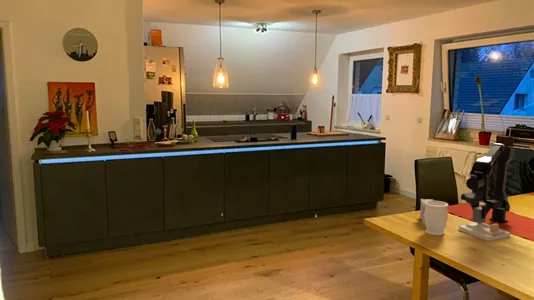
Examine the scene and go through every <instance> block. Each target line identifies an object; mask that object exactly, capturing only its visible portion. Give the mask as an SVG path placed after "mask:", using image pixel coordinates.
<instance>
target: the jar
mask: <svg viewBox="0 0 534 300" xmlns="http://www.w3.org/2000/svg"><path fill="white" fill-rule="evenodd" d="M425 205H426V207H425V210H424V220H425V224H424V226H425V228H426V229H425V233H426V234H428V235H431V236H439V237H440V236H443V235H445V231H444V230H445V229H446V227H447V223H448V217H449V215H448V214H449V213H448V207H449V203H448V202H445V201H440V200H434V201H426V202H425Z"/></svg>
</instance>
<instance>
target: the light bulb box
mask: <svg viewBox="0 0 534 300" xmlns="http://www.w3.org/2000/svg"><path fill="white" fill-rule="evenodd" d="M426 201H435V200H434V199H428V198H427V199H425V198H420V210H419V211H420V212H419V215H420V216H419V218H420V220H421V222H422V224H423V225H425V220H424V210H425V207H426V205H425V202H426Z"/></svg>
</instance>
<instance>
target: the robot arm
mask: <svg viewBox="0 0 534 300" xmlns="http://www.w3.org/2000/svg"><path fill="white" fill-rule="evenodd" d="M514 155H515V149H514V148H513V147H512V146H508V145H506V144H503V143H498V142H497V143H492V145H491V148H489V150H488V151H487V152H486V153H485V154H484V155H483V156H482V157H479V158H477V159H476V160H475V161H474V162H473V164H472V167H471V170H470V172H469V175H470V177H469V178H467V180H466V182H465V185H466V187H467V188H468V189H469V190H471V191H470V192H466V193H462V194H461V195H460V200H462V201H465V203H467V204H469V205H470V207H471V209H472V211H473V207H481V208H482V219H484V218H485V217H487V216H488V213H489V212H490V211H491V209H492V212H491V217H490V218H489V219H488V220H490V221H493V222H496V223H498V224H500V223H501V224H502V223H506V222H509V220H508V219H507V218H506V216H507V215H506V214H507V212H510V211H511V210H510V209H511V204H510V202H509V197H508V194H507V192H506V183H507V176H508V167H509V163H510V162H511V161H512V160H513V158H514ZM495 161H496V163H497V164H496V165H497V166H496V175H495V182H494V183H495V184H494V190H493V191H492V192H491V193H490V194H488V193H489V192H490V189H491V188H489V178H490V176H491V173H492V171H493V169H494V167H493V163H494V162H495ZM488 195H489V196H488ZM480 203H481V204H483V205H480Z"/></svg>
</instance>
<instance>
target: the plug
mask: <svg viewBox="0 0 534 300" xmlns="http://www.w3.org/2000/svg"><path fill="white" fill-rule="evenodd" d="M486 217H487V216H486ZM486 217H485V218H484V219H482V208H481V206H479V207H473V210H472V223H479V224H480V223H485V224H486V220H487V219H486Z"/></svg>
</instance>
